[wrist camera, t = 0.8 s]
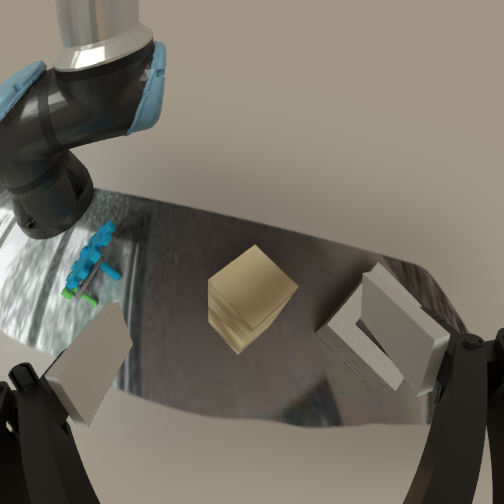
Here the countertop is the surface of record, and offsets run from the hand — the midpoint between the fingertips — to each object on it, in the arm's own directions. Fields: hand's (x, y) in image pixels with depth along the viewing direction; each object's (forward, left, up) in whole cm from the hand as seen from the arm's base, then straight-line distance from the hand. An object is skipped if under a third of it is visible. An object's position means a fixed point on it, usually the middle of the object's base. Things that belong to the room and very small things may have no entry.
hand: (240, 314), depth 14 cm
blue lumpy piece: (-19, -6, -18) cm, 27 cm away
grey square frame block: (+11, +16, -18) cm, 26 cm away
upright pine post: (-2, +4, -18) cm, 18 cm away
